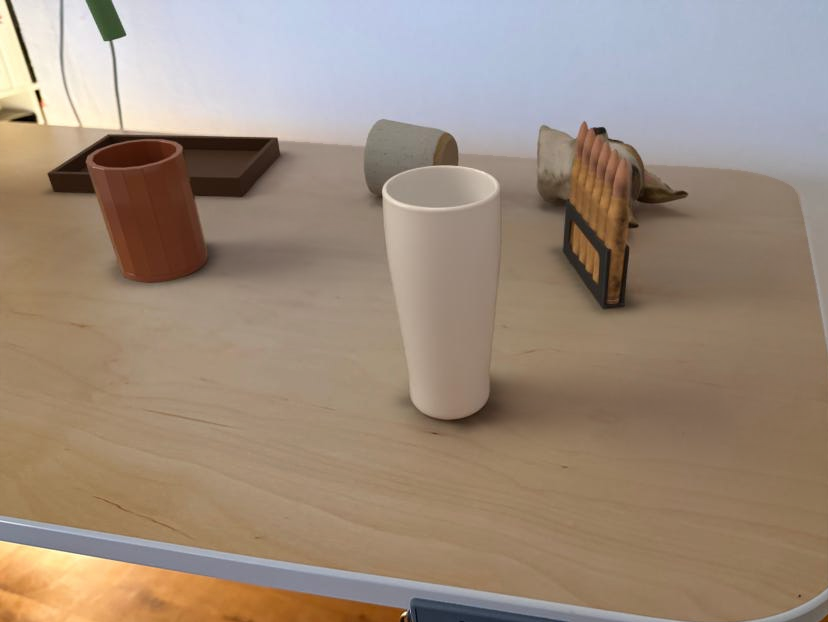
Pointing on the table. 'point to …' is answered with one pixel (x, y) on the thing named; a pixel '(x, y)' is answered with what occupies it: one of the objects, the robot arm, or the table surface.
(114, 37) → the straw
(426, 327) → the drinking glass
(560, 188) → the ceramic sculpture
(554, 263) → the table surface
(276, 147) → the tray
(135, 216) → the tumbler
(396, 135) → the ceramic mug
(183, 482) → the table surface
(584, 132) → the ammunition clip
